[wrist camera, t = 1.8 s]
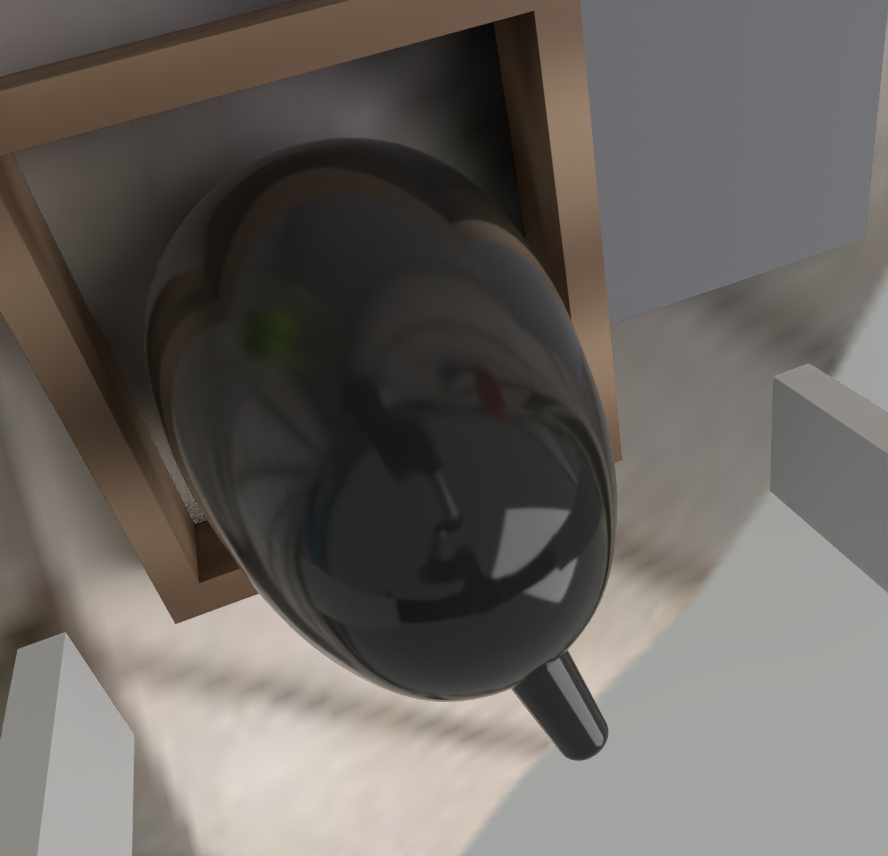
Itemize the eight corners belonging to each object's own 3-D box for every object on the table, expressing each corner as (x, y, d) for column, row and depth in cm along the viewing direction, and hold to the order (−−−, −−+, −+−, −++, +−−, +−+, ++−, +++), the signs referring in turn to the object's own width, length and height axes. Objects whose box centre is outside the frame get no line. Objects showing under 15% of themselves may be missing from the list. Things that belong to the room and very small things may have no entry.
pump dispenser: (278, 491, 28) (386, 944, 15) (63, 238, 22) (-49, 641, 9) (533, 333, 28) (851, 656, 15) (388, 35, 22) (718, 165, 9)
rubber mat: (534, -75, 21) (542, -75, 21) (892, -166, 23) (905, -168, 23) (580, 326, 28) (586, 332, 28) (854, 234, 30) (864, 238, 29)
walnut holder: (-75, 96, 19) (-108, 119, 17) (525, -59, 21) (574, -59, 19) (172, 563, 28) (175, 623, 25) (583, 417, 30) (621, 459, 28)
